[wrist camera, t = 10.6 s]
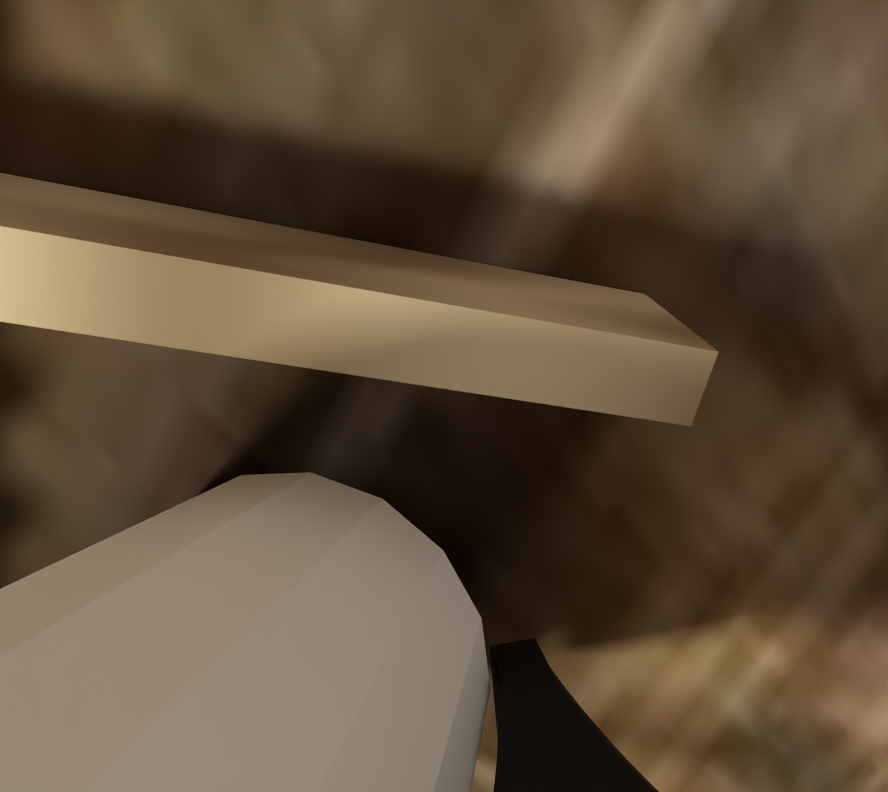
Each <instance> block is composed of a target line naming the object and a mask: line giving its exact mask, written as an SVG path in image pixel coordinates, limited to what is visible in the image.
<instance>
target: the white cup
mask: <svg viewBox="0 0 888 792" xmlns="http://www.w3.org/2000/svg"><path fill="white" fill-rule="evenodd" d="M489 694H490V681H489V674H488V666H487V658H486V650H485V642H484V634H483V626H482V618H481V616H480V615H479V613H478V611H477V609H476V608H475V606H474V604H473V602H472V600H471V599H470V597H469V595H468V593H467V592H466V590H465V588H464V586H463V584H462V583H461V581H460V579H459V577H458V576H457V574H456V572H455V570H454V568H453V567H452V565H451V563H450V561H449V560H448V558H447V556H446V554H445V553H444V551H443V550H442V549H441V548H440V547H439V546H437V545H436V544H435V543H434V542H433V541H432V540H430V539H429V538H428V537H427V536H426V535H425V534H423V533H422V532H421V531H420V530H419V529H417V528H416V527H415V526H414V525H413V524H412V523H410V522H409V521H408V520H407V519H406V518H405V517H403V516H402V515H401V514H400V513H399V512H398V511H396V510H395V509H394V508H393V507H392V506H390V505H389V504H388V503H387V502H386V501H385V500H383V499H382V498H379V497H376V496H374V495H371V494H368V493H365V492H363V491H360V490H357V489H355V488H352V487H349V486H346V485H344V484H341V483H338V482H335V481H333V480H330V479H327V478H325V477H322V476H319V475H316V474H314V473H311V472H309V473H283V474H257V475H240V476H238V477H236V478H234V479H232V480H230V481H228V482H226V483H223V484H221V485H219V486H217V487H215V488H213V489H211V490H209V491H207V492H204V493H202V494H200V495H198V496H196V497H194V498H192V499H190V500H187V501H185V502H183V503H181V504H179V505H177V506H175V507H173V508H171V509H168V510H166V511H164V512H162V513H160V514H158V515H156V516H154V517H152V518H149V519H147V520H145V521H143V522H141V523H139V524H137V525H135V526H132V527H130V528H128V529H126V530H124V531H122V532H120V533H118V534H116V535H113V536H111V537H109V538H107V539H105V540H103V541H101V542H99V543H96V544H94V545H92V546H90V547H88V548H86V549H84V550H82V551H80V552H77V553H75V554H73V555H71V556H69V557H67V558H65V559H63V560H61V561H58V562H56V563H54V564H52V565H50V566H48V567H46V568H44V569H41V570H39V571H37V572H35V573H33V574H31V575H29V576H27V577H25V578H22V579H20V580H18V581H16V582H14V583H12V584H10V585H8V586H5V587H3V588H1V589H0V792H470V789H471V784H472V779H473V774H474V769H475V764H476V759H477V754H478V749H479V744H480V739H481V734H482V729H483V724H484V719H485V714H486V709H487V704H488V699H489Z"/></svg>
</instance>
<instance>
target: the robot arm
mask: <svg viewBox="0 0 888 792" xmlns="http://www.w3.org/2000/svg"><path fill="white" fill-rule="evenodd" d="M489 647H490V658H491V669H492V680H493V691H494V702H495V713H496V725H497V736H498V751H497V765H496V775H495V784H494V792H659V791H658V790H656V789H655V788H654V787H653V786H652V785H651V784H650V783H649V782H648V781H647V780H646V779H645V778H644V777H643V776H642V775H641V774H640V772H639V771H638V770H637V769H636V768H635V767H634V766H633V765H632V764H631V763H630V762H629V761H628V760H627V759H626V758H625V757H624V756H623V755H622V754H621V753H620V752H619V751H618V749H617V748H616V747H615V746H614V745H613V744H612V743H611V742H610V741H609V739H608V738H607V737H606V736H605V735H604V734H603V733H602V731H601V730H600V729H599V728H598V727H597V726H596V725H595V723H594V722H593V721H592V720H591V719H590V718H589V717H588V715H587V714H586V713H585V712H584V711H583V709H582V708H581V707H580V706H579V704H578V703H577V702H576V701H575V700H574V698H573V697H572V696H571V694H570V693H569V692H568V691H567V689H566V688H565V687H564V685H563V684H562V683H561V681H560V680H559V679H558V677H557V676H556V675H555V673H554V672H553V671H552V669H551V668H550V666H549V665H548V663H547V661H546V659H545V657H544V655H543V653H542V651H541V649H540V647H539V645H538V643H537V641H536V640H535V638H533V639H528V640H522V641H516V642H510V643H505V644H499V645H493V646H489Z"/></svg>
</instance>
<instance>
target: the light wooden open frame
mask: <svg viewBox="0 0 888 792" xmlns="http://www.w3.org/2000/svg"><path fill="white" fill-rule="evenodd" d="M0 322H7V323H14V324H20V325H27V326H33V327H40V328H47V329H53V330H60V331H66V332H73V333H80V334H86V335H93V336H99V337H106V338H113V339H119V340H126V341H132V342H139V343H146V344H152V345H159V346H165V347H172V348H178V349H185V350H192V351H198V352H205V353H211V354H218V355H225V356H231V357H238V358H244V359H251V360H258V361H264V362H271V363H277V364H284V365H291V366H297V367H304V368H310V369H317V370H324V371H330V372H337V373H343V374H350V375H357V376H363V377H370V378H376V379H383V380H390V381H396V382H403V383H409V384H416V385H422V386H429V387H436V388H442V389H449V390H455V391H462V392H469V393H475V394H482V395H488V396H495V397H502V398H508V399H515V400H521V401H528V402H535V403H541V404H548V405H554V406H561V407H568V408H574V409H581V410H587V411H594V412H601V413H607V414H614V415H620V416H627V417H634V418H640V419H647V420H653V421H660V422H666V423H673V424H680V425H686V426H692V423H693V420H694V417H695V415H696V412H697V409H698V407H699V404H700V401H701V398H702V396H703V393H704V390H705V388H706V385H707V382H708V379H709V377H710V374H711V371H712V369H713V366H714V363H715V360H716V358H717V355H718V351H717V350H716V349H715V348H713V347H712V346H711V345H709V344H708V343H707V342H706V341H704V340H703V339H702V338H700V337H699V336H698V335H697V334H695V333H694V332H693V331H692V330H690V329H689V328H688V327H686V326H685V325H684V324H683V323H681V322H680V321H679V320H678V319H676V318H675V317H674V316H672V315H671V314H670V313H669V312H667V311H666V310H665V309H664V308H662V307H661V306H660V305H658V304H657V303H656V302H655V301H653V300H652V299H651V298H650V297H648V296H647V295H646V294H642V293H637V292H631V291H626V290H621V289H615V288H610V287H605V286H599V285H594V284H589V283H583V282H578V281H573V280H567V279H562V278H557V277H552V276H546V275H541V274H536V273H530V272H525V271H520V270H514V269H509V268H504V267H498V266H493V265H488V264H482V263H477V262H472V261H466V260H461V259H456V258H451V257H445V256H440V255H435V254H429V253H424V252H419V251H413V250H408V249H403V248H397V247H392V246H387V245H381V244H376V243H371V242H365V241H360V240H355V239H350V238H344V237H339V236H334V235H328V234H323V233H318V232H312V231H307V230H302V229H296V228H291V227H286V226H280V225H275V224H270V223H264V222H259V221H254V220H249V219H243V218H238V217H233V216H227V215H222V214H217V213H211V212H206V211H201V210H195V209H190V208H185V207H179V206H174V205H169V204H163V203H158V202H153V201H148V200H142V199H137V198H132V197H126V196H121V195H116V194H110V193H105V192H100V191H94V190H89V189H84V188H78V187H73V186H68V185H62V184H57V183H52V182H47V181H41V180H36V179H31V178H25V177H20V176H15V175H9V174H4V173H0Z"/></svg>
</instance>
